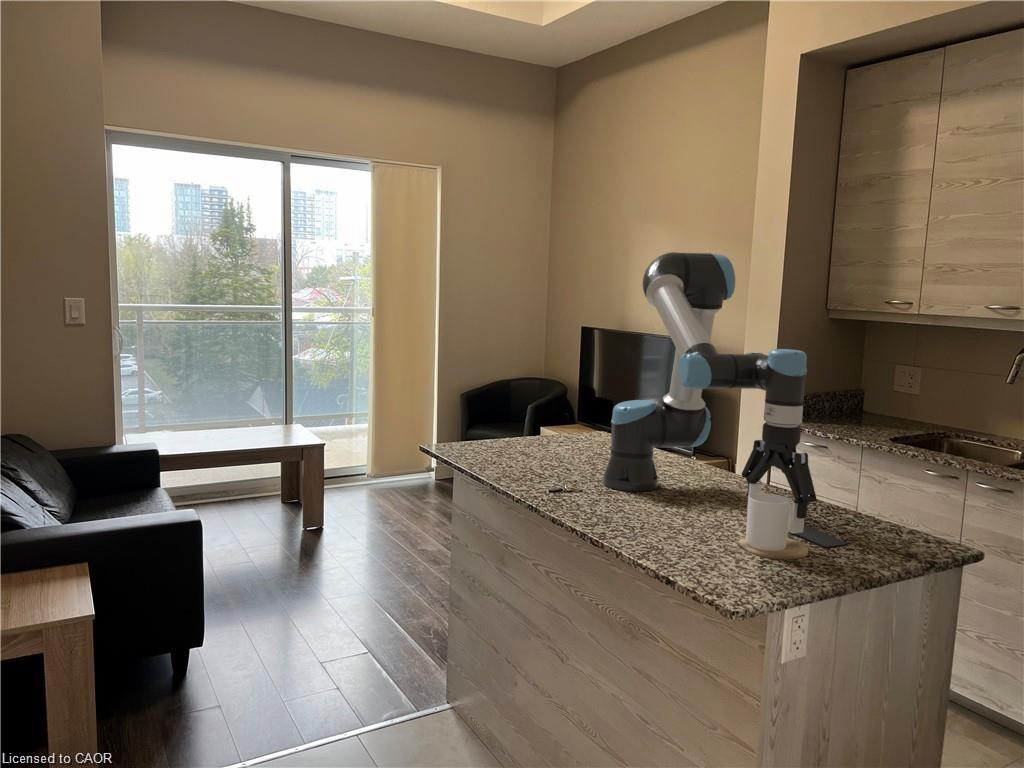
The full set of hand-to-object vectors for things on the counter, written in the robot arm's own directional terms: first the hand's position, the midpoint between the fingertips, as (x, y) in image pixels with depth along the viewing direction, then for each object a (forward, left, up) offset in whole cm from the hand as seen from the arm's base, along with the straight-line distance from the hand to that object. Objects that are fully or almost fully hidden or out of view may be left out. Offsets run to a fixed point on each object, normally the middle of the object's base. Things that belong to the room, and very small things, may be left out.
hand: (773, 522), depth 157 cm
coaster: (0, 0, -5) cm, 6 cm away
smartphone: (-4, +14, -6) cm, 16 cm away
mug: (0, 0, -5) cm, 5 cm away
